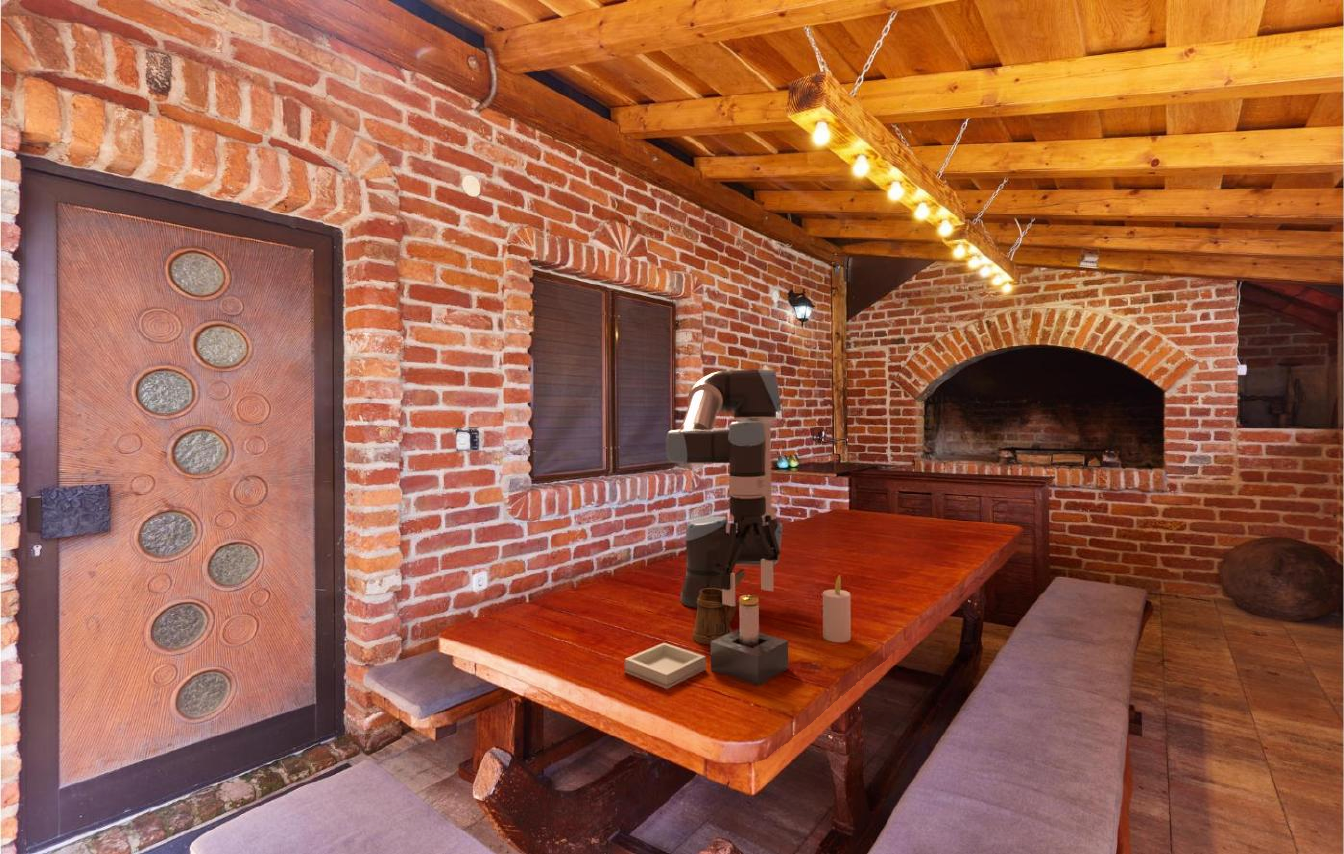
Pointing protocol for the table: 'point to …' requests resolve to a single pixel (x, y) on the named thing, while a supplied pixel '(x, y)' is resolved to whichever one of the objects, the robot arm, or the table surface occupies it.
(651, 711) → the table surface
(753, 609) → the gold capped cylinder
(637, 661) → the tray
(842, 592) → the candle
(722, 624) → the wooden mug
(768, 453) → the robot arm
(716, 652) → the block
